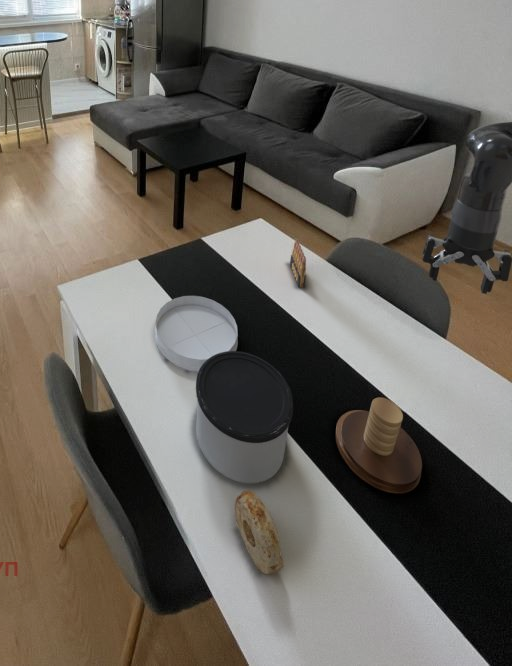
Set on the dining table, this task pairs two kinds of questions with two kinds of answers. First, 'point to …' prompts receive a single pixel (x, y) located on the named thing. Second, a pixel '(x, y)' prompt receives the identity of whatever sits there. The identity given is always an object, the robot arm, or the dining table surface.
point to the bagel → (258, 532)
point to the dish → (194, 331)
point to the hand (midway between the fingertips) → (458, 284)
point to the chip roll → (383, 426)
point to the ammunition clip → (298, 264)
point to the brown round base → (378, 456)
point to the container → (242, 415)
